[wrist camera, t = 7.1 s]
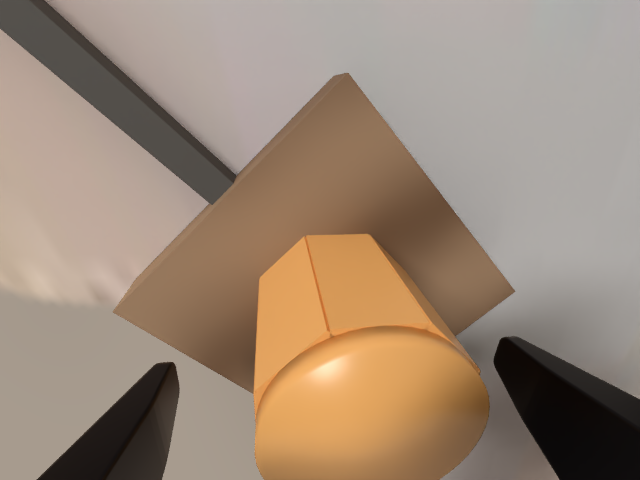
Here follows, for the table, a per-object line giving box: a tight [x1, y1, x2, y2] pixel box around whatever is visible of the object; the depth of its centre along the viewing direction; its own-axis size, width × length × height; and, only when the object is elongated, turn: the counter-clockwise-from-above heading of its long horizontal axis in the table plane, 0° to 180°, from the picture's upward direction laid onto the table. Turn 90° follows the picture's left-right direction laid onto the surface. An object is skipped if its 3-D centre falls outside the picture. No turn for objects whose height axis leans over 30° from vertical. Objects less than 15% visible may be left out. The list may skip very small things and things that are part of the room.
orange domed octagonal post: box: [254, 234, 490, 480], centre depth 9 cm, size 5×5×5 cm
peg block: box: [113, 73, 515, 394], centre depth 10 cm, size 10×10×6 cm
